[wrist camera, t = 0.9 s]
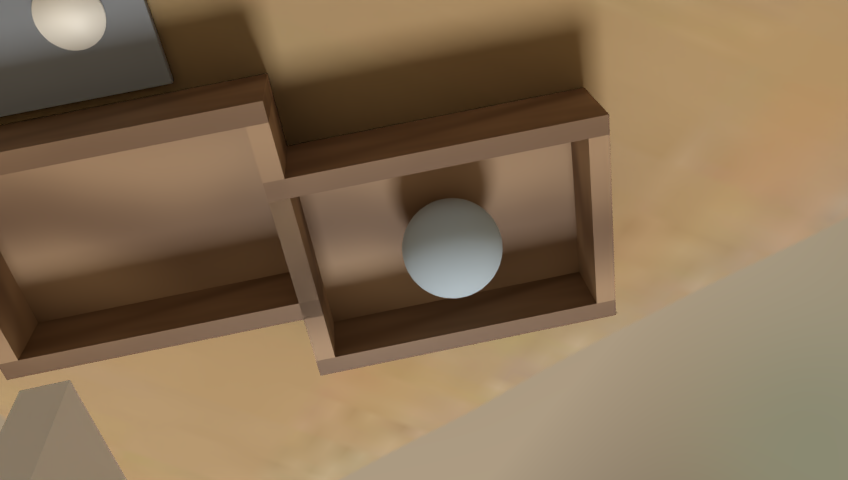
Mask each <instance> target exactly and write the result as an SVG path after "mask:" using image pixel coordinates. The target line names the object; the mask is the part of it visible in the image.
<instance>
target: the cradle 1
mask: <svg viewBox="0 0 848 480" xmlns="http://www.w3.org/2000/svg"><path fill="white" fill-rule="evenodd" d="M286 155H287V144H286V140H285V136H284V133H283V129H282V125H281V122H280V118H279V115H278V111H277V107H276V104H275V100H274V96H273V93H272V89H271V85H270V82H269V78H268V74H262V75H256V76H251V77H246V78H241V79H236V80H231V81H226V82H221V83H215V84H210V85H205V86H200V87H195V88H190V89H185V90H180V91H174V92H169V93H164V94H159V95H154V96H149V97H144V98H139V99H133V100H128V101H123V102H118V103H113V104H108V105H103V106H97V107H92V108H87V109H82V110H77V111H72V112H67V113H62V114H56V115H51V116H46V117H41V118H36V119H31V120H26V121H21V122H15V123H10V124H5V125H0V369H1V371H2V373H3V374H4V376H5V378H6V379H7V380H9V379H14V378H19V377H24V376H28V375H33V374H38V373H43V372H48V371H53V370H58V369H63V368H68V367H73V366H78V365H82V364H87V363H92V362H97V361H102V360H107V359H112V358H117V357H122V356H127V355H132V354H136V353H141V352H146V351H151V350H156V349H161V348H166V347H171V346H176V345H181V344H186V343H190V342H195V341H200V340H205V339H210V338H215V337H220V336H225V335H230V334H235V333H240V332H244V331H249V330H254V329H259V328H264V327H269V326H274V325H279V324H284V323H289V322H294V321H299V320H303V315H302V314H303V313H304V310H303V312H301V310H302V309H303V308H302V309H300V306H301V304H302V303H303V302H302V301H303V299H301V302H302V303H301V304H300V305H299V303H300V302H299V299H300V296H298V297H299V299H297V295H296V294H297V292H300V288H297V289H299V290H298V291H297V292H296V291H295V289H294V288H295V287H294V286H295V285H296V283H295V281H293V282H294V283H293V282H292V279H291V276H290V274H291V273H290V271H289V269H288V266H287V262H286V260H287V259H285V256H284V252H283V249H282V246H283V245H282V246H281V242H280V238H279V236H278V235H279V230H278V231H277V229H276V226H275V225H276V224H275V223H277V220H278V218H279V217H280V216H279V217H278V216H277V217H278V218H277V220H276V222H274V219H275V217H276V214H277V213H278V210H279V209H278V210H277V213H276V212H275V215H274V216H272V214H274V213H273V212H271V209H270V206H271V205H272V204H269V202H268V201H269V200H268V199H267V195H266V193H265V189H264V186H263V183H267V182H272V181H277V180H279V182H280V180H282V179H285V168H286ZM270 187H271V186H270ZM274 187H275V186H274ZM284 187H285V186H284ZM276 188H277V187H276ZM286 189H287V188H286ZM281 194H282V193H281ZM285 195H286V194H285ZM272 197H273V196H272ZM285 198H286V197H285ZM277 200H278V199H277ZM285 200H287V199H285ZM285 200H284V201H285ZM290 201H291V200H289V201H288V202H290ZM285 202H286V201H285ZM285 202H284V203H285ZM275 203H276V201H275ZM273 204H274V203H273ZM285 204H286V203H285ZM291 204H292V203H291ZM269 205H270V206H269ZM283 205H284V204H283ZM276 206H278V202H277V205H276ZM281 206H282V200H281ZM281 206H280V207H281ZM271 207H273V206H271ZM278 207H279V206H278ZM291 207H292V206H291ZM291 207H290V208H291ZM276 208H277V207H276ZM284 208H285V207H284ZM272 209H273V208H272ZM282 210H283V209H282ZM273 211H275V209H274V210H273ZM288 211H289V210H288ZM292 211H293V208H292ZM292 211H291V212H290V213H292ZM279 212H281V209H280V211H279ZM281 213H282V212H281ZM283 213H285V210H284V212H283ZM287 213H288V212H287ZM293 213H294V212H293ZM277 215H278V214H277ZM279 215H280V213H279ZM281 216H283V215H281ZM286 216H287V215H285V218H284V221H285V219H286ZM273 217H274V219H273ZM292 217H293V218H294V214H293V216H292ZM289 218H290V214H289ZM279 219H280V221H281V218H279ZM282 220H283V219H282ZM291 220H292V218H291ZM295 220H296V219H295ZM295 220H294V222H295ZM280 221H279V225H280ZM287 221H289V220H288V219H287ZM287 221H286V224H287ZM282 224H283V223H282ZM282 224H281V227H282ZM286 224H285V226H286ZM283 225H284V224H283ZM290 225H291V222H290ZM294 225H295V223H294ZM294 225H291V228H290V229H292V226H294ZM296 225H297V223H296ZM277 227H278V226H277ZM287 227H288V226H287ZM289 227H290V226H289ZM285 228H286V227H285ZM278 229H280V226H279V228H278ZM287 229H288V228H287ZM295 229H296V226H295ZM283 230H284V228H283ZM285 230H286V229H285ZM297 230H298V228H297ZM280 231H281V229H280ZM286 231H287V230H286ZM290 232H291V230H290ZM293 232H294V229H293V231H292V236H293ZM297 232H298V231H297ZM297 232H296V233H297ZM284 234H285V235H286V233H284ZM288 234H289V232H288ZM299 234H300V233H299ZM285 235H282V236H283V238H284V236H285ZM295 236H296V234H295ZM295 236H294V237H295ZM298 236H299V235H298ZM280 237H281V235H280ZM285 237H286V236H285ZM294 237H293V239H294ZM296 237H297V236H296ZM299 237H300V236H299ZM287 239H288V236H287ZM289 240H290V239H289ZM301 240H302V239H301ZM281 241H282V239H281ZM283 241H284V240H283ZM287 241H288V240H287ZM299 241H300V240H299ZM285 242H286V238H285ZM297 242H298V238H297ZM286 243H288V242H286ZM289 243H291V242H289ZM293 243H294V242H292V244H293ZM295 243H296V240H295ZM295 243H294V246H295ZM299 243H300V242H299ZM301 243H302V242H301ZM297 244H298V243H297ZM284 245H285V244H284ZM298 245H299V244H298ZM301 245H303V244H301ZM290 246H291V244H290ZM292 247H293V245H292ZM283 248H284V247H283ZM286 248H287V244H286ZM288 248H289V246H288ZM300 248H301V247H300ZM303 248H304V247H303ZM289 249H290V248H289ZM289 249H287V250H286V251H287V252H288V251H289ZM292 249H293V250H294V249H295V248H291V253H292ZM296 249H297V246H296ZM298 251H300V250H298ZM298 251H297V252H298ZM291 253H289V254H290V255H291ZM295 253H296V250H295ZM298 253H299V252H298ZM285 254H286V256H287V253H286V252H285ZM301 254H303V253H302V251H301ZM290 255H289V256H290ZM292 255H293V256H294V253H293V254H292ZM305 255H306V253H305ZM289 256H288V257H289ZM297 256H298V255H296V257H297ZM303 256H304V255H303ZM290 257H291V256H290ZM296 257H295V258H296ZM300 258H301V256H300ZM306 258H307V257H306ZM298 259H299V257H298ZM304 259H305V258H304ZM288 260H289V258H288ZM294 260H295V259H294ZM294 260H293V262H294ZM301 260H302V259H301ZM302 261H303V260H302ZM306 261H307V260H306ZM291 262H292V261H291ZM295 262H296V261H295ZM299 262H300V261H299ZM304 263H305V264H306V262H305V261H304ZM304 263H303V265H304ZM290 264H291V263H290ZM297 264H298V262H297ZM294 265H295V266H294V267H296V264H294ZM297 266H299V267H298V268H300V264H299V265H297ZM292 267H293V266H292ZM306 268H307V266H306V265H305V268H304V274H305V269H306ZM293 269H294V271H295V269H296V268H293ZM301 269H302V267H301V268H300V272H301ZM290 270H291V267H290ZM302 270H303V269H302ZM308 270H310V268H309V269H308ZM297 271H298V270H297ZM297 271H296V272H294V273H295V274H296V273H297ZM292 272H293V271H292ZM307 272H308V271H307ZM308 274H309V272H308ZM308 274H306V275H308ZM299 275H301V274H300V273H299ZM302 275H303V274H302ZM310 275H311V274H310ZM310 275H309V276H310ZM297 277H298V276H297ZM301 277H302V276H301ZM292 278H293V277H292ZM295 278H296V277H295ZM303 278H305V277H304V276H303ZM299 279H301V278H299ZM305 279H306V278H305ZM305 279H302V281H303V280H304V281H305ZM311 279H312V276H311ZM306 280H308V277H307V279H306ZM300 281H301V280H300ZM308 281H310V280H308ZM297 282H298V285H300V282H299V281H297ZM312 282H314V281H312ZM320 282H321V281H320V280H319V302H320V304H319V308H320V306H321V309H322V314H323V291H322V290H323V287H322V288H321V287H320V286H321V283H320ZM310 283H311V281H310V282H308V284H307V282H306V284H307V285H308V286H309V285H311V284H310ZM293 284H295V285H293ZM306 284H303V290H304V288H305V285H306ZM313 285H314V284H313V283H312V288H313ZM308 286H307V289H308V288H310V286H309V287H308ZM322 286H323V285H322ZM296 287H297V285H296ZM300 287H301V286H300ZM312 290H314V288H313V289H312ZM309 292H310V291H309ZM309 292H308V290H307V293H308V295H309ZM302 293H304V291H302ZM310 293H312V294H313V292H312V291H311V292H310ZM315 293H316V291H315ZM304 295H305V293H304ZM306 296H307V295H306ZM302 297H303V298H304V296H303V294H302ZM310 297H311V294H310ZM312 297H313V295H312ZM306 298H307V297H306ZM314 298H315V294H314ZM310 299H312V298H310ZM310 299H309V300H310ZM311 301H312V300H311ZM313 301H314V300H313ZM313 301H312V302H313ZM316 301H318V299H316ZM316 301H315V302H316ZM304 303H305V302H304ZM313 304H314V303H313ZM316 304H317V305H318V303H317V302H316ZM304 305H306V304H304ZM308 305H309V302H308V300H307V305H306V306H308ZM310 305H312V304H310ZM303 307H304V306H303ZM312 307H313V306H312ZM312 307H311V308H312ZM305 308H306V307H305ZM309 308H310V307H309ZM314 308H315V306H314ZM316 309H317V308H316ZM308 310H309V309H307V310H305V311H308ZM311 310H313V309H310V310H309V311H311ZM314 311H315V309H314ZM318 311H319V309H318ZM312 313H313V312H312ZM314 313H315V312H314ZM320 313H321V312H320V311H319V314H320ZM304 314H305V313H304ZM315 314H317V313H315ZM311 315H312V314H311ZM318 316H319V315H318ZM318 316H317V317H318ZM314 317H315V316H314ZM306 318H307V316H306ZM310 318H312V317H311V316H310ZM304 319H305V317H304ZM307 319H308V318H307Z"/></svg>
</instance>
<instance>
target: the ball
mask: <svg viewBox="0 0 848 480" xmlns="http://www.w3.org/2000/svg"><path fill="white" fill-rule="evenodd" d="M502 252H503V247H502V238H501V234H500V231H499V228H498V226H497V224H496V223H495V221H494V219H493V218H492V217H491V215H490V214H489V213H488V212H486V211H485V210H484V209H483V208H482V207H480V206H479V205H477V204H475V203H473V202H471V201H468V200H464V199H459V198H446V199H440V200H437V201H434V202H432V203H430V204H428V205H426V206H425V207H423V208H422V209H420V210H419V211H418V212H417V213H416V214H415V215H414V216H413V218H412V219H411V221H410V222H409V224H408V226H407V228H406V230H405V233H404V237H403V242H402V254H403V260H404V263H405V266H406V269H407V271H408V273H409V274H410V276H411V277H412V279H413V280H414V281H415V282H416V283H417V284H418V285H419V286H420V287H421V288H422V289H424V290H425V291H427V292H429V293H431V294H433V295H435V296H439V297H443V298H462V297H466V296H469V295H472V294H474V293H476V292H478V291H479V290H481V289H482V288H484V287H485V286H486V285H487V284H488V283H489V282H490V281H491V280H492V278H493V277H494V276H495V274H496V272H497V270H498V268H499V266H500V262H501V258H502Z"/></svg>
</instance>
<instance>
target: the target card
mask: <svg viewBox="0 0 848 480" xmlns="http://www.w3.org/2000/svg"><path fill="white" fill-rule="evenodd" d="M173 81H174V80H173V77H172V74H171V71H170V68H169V65H168V62H167V59H166V56H165V54H164V51H163V48H162V45H161V42H160V39H159V36H158V33H157V30H156V27H155V24H154V21H153V18H152V16H151V13H150V10H149V7H148V4H147V1H146V0H0V117H2V116H7V115H12V114H18V113H23V112H28V111H33V110H38V109H43V108H48V107H54V106H59V105H64V104H69V103H74V102H79V101H84V100H90V99H95V98H100V97H105V96H110V95H115V94H120V93H125V92H131V91H136V90H141V89H146V88H151V87H156V86H161V85H167V84H172V83H173Z"/></svg>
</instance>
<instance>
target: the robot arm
mask: <svg viewBox="0 0 848 480" xmlns="http://www.w3.org/2000/svg"><path fill="white" fill-rule="evenodd" d="M0 480H127V479H126V477H125V476H124V474H123V472H122V470H121V469H120V467H119V465H118V463H117V462H116V460H115V458H114V456H113V455H112V453H111V451H110V449H109V448H108V446H107V444H106V442H105V441H104V439H103V437H102V435H101V434H100V432H99V430H98V428H97V427H96V425H95V423H94V421H93V420H92V418H91V416H90V414H89V413H88V411H87V409H86V407H85V406H84V404H83V402H82V400H81V399H80V397H79V395H78V393H77V392H76V390H75V388H74V386H73V385H72V383H71V381H70V380H68V381H63V382H58V383H54V384H49V385H44V386H40V387H35V388H30V389H26V390H21V391H19V393H18V396H17V398H16V400H15V402H14V404H13V406H12V408H11V410H10V413H9V415H8V417H7V419H6V421H5V423H4V425H3V428H2V430H1V432H0Z"/></svg>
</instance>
